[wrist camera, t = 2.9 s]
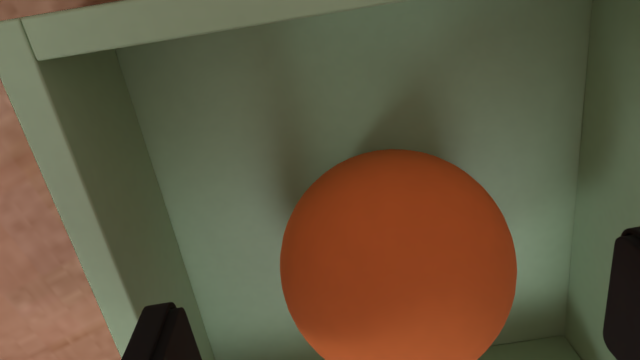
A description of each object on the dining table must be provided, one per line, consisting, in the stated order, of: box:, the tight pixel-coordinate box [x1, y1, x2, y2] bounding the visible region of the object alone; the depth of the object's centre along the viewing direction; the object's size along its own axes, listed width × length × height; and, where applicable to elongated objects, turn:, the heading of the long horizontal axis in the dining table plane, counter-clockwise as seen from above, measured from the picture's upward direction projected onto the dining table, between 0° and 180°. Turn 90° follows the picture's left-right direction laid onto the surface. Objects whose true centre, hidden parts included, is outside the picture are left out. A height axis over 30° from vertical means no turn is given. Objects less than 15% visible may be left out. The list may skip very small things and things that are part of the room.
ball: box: [280, 149, 517, 360], centre depth 12 cm, size 6×6×6 cm
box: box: [0, 0, 640, 360], centre depth 13 cm, size 15×15×4 cm
